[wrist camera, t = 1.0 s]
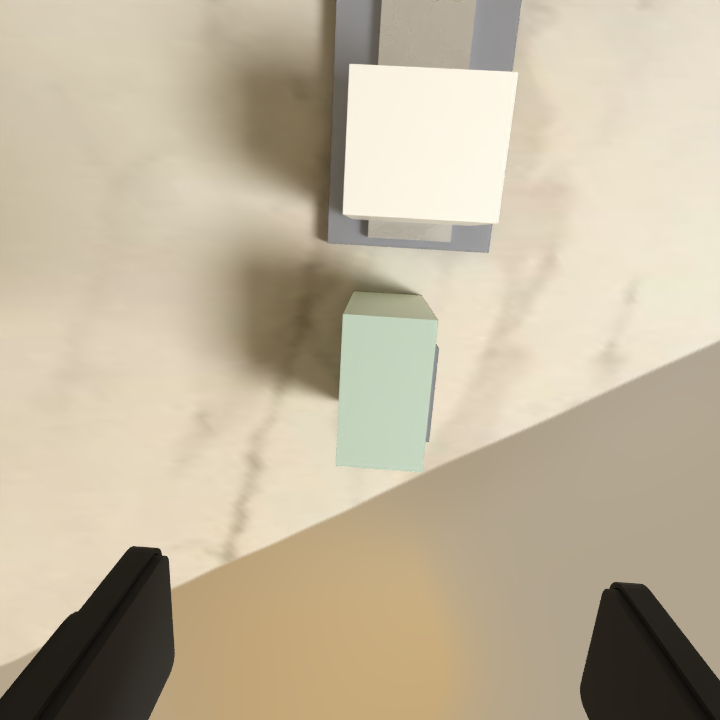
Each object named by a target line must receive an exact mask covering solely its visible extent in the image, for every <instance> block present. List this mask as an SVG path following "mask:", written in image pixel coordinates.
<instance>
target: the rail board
mask: <svg viewBox="0 0 720 720" xmlns="http://www.w3.org/2000/svg"><path fill="white" fill-rule="evenodd" d="M521 1H522V0H336V26H335V54H334V81H333V108H332V136H331V163H330V190H329V218H328V243H333V244H350V245H366V246H383V247H400V248H416V249H433V250H449V251H466V252H483V253H489V246H490V239H491V231H492V224H497V223H498V221H499V213H500V206H501V198H502V191H503V183H504V176H505V168H506V161H507V153H508V146H509V138H510V131H511V123H512V116H513V108H514V101H515V93H516V86H517V78H518V72H512V70H513V62H514V54H515V47H516V39H517V31H518V24H519V16H520V8H521Z"/></svg>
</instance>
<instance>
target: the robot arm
mask: <svg viewBox="0 0 720 720" xmlns="http://www.w3.org/2000/svg"><path fill="white" fill-rule="evenodd" d="M174 654H175V653H174V636H173V620H172V604H171V587H170V571H169V559H168V557H167V556H162V553H161V550H160V549H159V548H150V547H136V546H133V547H130V548H129V549H128V550H127V551H126V552H125V554H124V555H123V556H122V557H121V559H120V560H119V561H118V562H117V564H116V565H115V566H114V567H113V569H112V570H111V571H110V572H109V574H108V575H107V576H106V577H105V579H104V580H103V581H102V582H101V584H100V585H99V586H98V588H97V589H96V590H95V591H94V593H93V594H92V595H91V596H90V598H89V599H88V600H87V601H86V603H85V604H84V605H83V606H82V608H81V609H80V610H79V611H78V612H74V613H73V614H71V615H70V616H69V617H68V618H67V619H66V620H65V621H64V622H63V623H62V624H61V625H60V626H59V628H58V629H57V630H56V631H55V633H54V634H53V635H52V636H51V637H50V639H49V640H48V641H47V642H46V644H45V645H44V646H43V647H42V648H41V650H40V651H39V652H38V653H37V655H36V656H35V657H34V658H33V659H32V661H31V662H30V663H29V664H28V666H27V667H26V668H25V669H24V670H23V672H22V673H21V674H20V675H19V677H18V678H17V679H16V680H15V681H14V683H13V684H12V685H11V687H10V688H9V689H8V690H7V691H6V692H5V694H4V695H3V696H2V697H1V699H0V720H148V719H149V717H150V715H151V713H152V711H153V709H154V706H155V704H156V702H157V700H158V698H159V696H160V694H161V692H162V690H163V687H164V685H165V683H166V681H167V679H168V677H169V675H170V672H171V670H172V666H173V662H174ZM580 694H581V700H582V704H583V707H584V709H585V712H586V714H587V716H588V718H589V720H720V680H719V679H718V678H717V677H716V675H715V674H714V673H713V671H712V670H711V669H710V667H709V666H708V665H707V664H706V662H705V661H704V660H703V658H702V657H701V656H700V654H699V653H698V652H697V651H696V649H695V648H694V647H693V645H692V644H691V643H690V641H689V640H688V639H687V638H686V636H685V635H684V634H683V633H682V631H681V630H680V629H679V627H678V626H677V625H676V623H675V622H674V621H673V620H672V618H671V617H670V616H669V614H668V613H667V612H666V610H665V609H664V608H663V607H662V605H661V604H660V603H659V601H658V600H657V599H656V598H655V596H654V595H653V594H652V592H651V591H650V590H649V589H648V588H647V587H646V586H645V585H643V584H634V583H621V582H614V583H612V584H611V586H610V589H605V590H604V591H603V593H602V596H601V601H600V605H599V609H598V614H597V617H596V622H595V626H594V630H593V634H592V638H591V643H590V647H589V651H588V656H587V660H586V664H585V668H584V672H583V676H582V681H581V686H580Z"/></svg>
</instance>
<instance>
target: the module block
mask: <svg viewBox="0 0 720 720" xmlns="http://www.w3.org/2000/svg"><path fill="white" fill-rule="evenodd" d="M437 327H438V319H437V318H436V316H435V315H434V313H433V311H432V310H431V308H430V307H429V305H428V304H427V302H426V301H425V299H424V298H423V296H422V295H408V294H393V293H377V292H361V291H354V292H353V294H352V296H351V298H350V300H349V302H348V304H347V307H346V309H345V311H344V313H343V322H342V343H341V364H340V385H339V406H338V427H337V448H336V466H342V467H355V468H369V469H382V470H396V471H409V472H422V470H423V461H424V451H425V442H429V437H430V428H431V418H432V409H433V400H434V390H435V381H436V372H437V363H438V353H439V348H438V346H437V344H436V337H437Z"/></svg>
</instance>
